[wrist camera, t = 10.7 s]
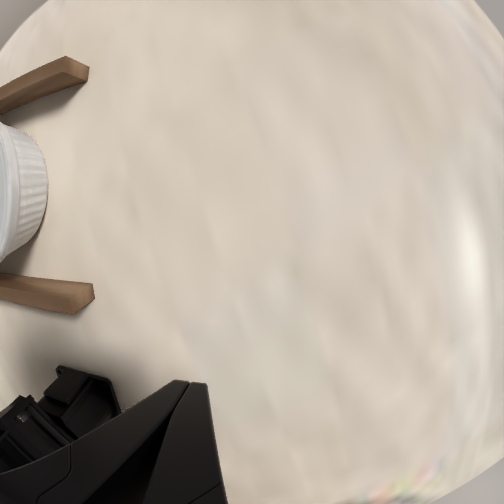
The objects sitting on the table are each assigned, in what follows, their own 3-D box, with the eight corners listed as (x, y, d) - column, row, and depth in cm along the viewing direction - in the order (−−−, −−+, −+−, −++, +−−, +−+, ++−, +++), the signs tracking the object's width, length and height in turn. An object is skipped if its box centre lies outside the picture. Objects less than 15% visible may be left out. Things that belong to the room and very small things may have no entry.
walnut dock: (94, 298, 20) (72, 314, 17) (-10, 282, 21) (-29, 291, 19) (89, 66, 16) (65, 55, 13) (-18, 113, 17) (-39, 112, 14)
